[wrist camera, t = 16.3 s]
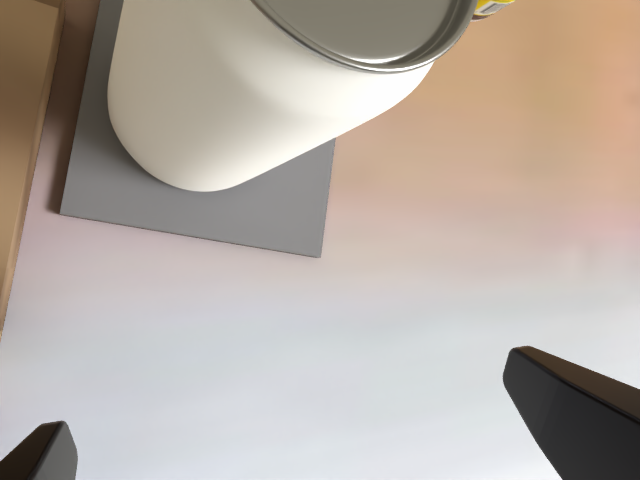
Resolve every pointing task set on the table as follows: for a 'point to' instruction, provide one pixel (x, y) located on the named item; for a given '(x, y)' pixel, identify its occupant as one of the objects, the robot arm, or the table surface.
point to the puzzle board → (22, 114)
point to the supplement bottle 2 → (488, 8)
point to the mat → (179, 204)
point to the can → (263, 78)
